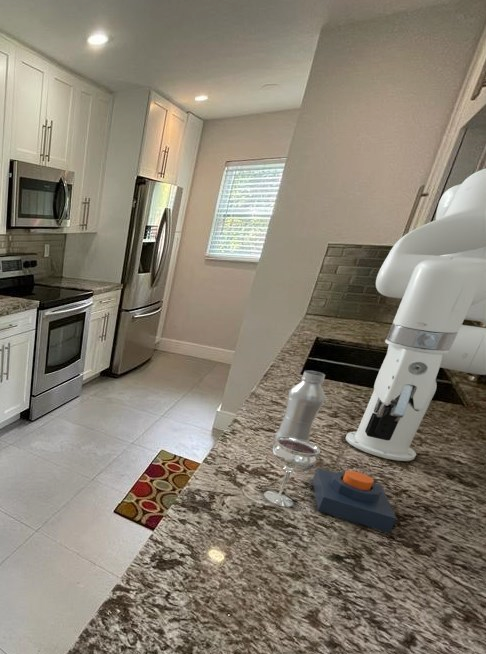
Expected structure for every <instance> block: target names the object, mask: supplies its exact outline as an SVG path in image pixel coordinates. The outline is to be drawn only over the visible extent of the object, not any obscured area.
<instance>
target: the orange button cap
mask: <svg viewBox="0 0 486 654" xmlns="http://www.w3.org/2000/svg"><path fill="white" fill-rule="evenodd" d="M344 472H345V475H344V477H343V481H344V482H345V483H346V484H348V485H350V486H352V487H354V488H358V489H362V490H370V488H371V486H372V484H373V482H374V479H373V478H372V477H370V476H369V475H367V474H366V473H363V472H359V471H356V470H346V471H344ZM374 483H375V482H374Z"/></svg>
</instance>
